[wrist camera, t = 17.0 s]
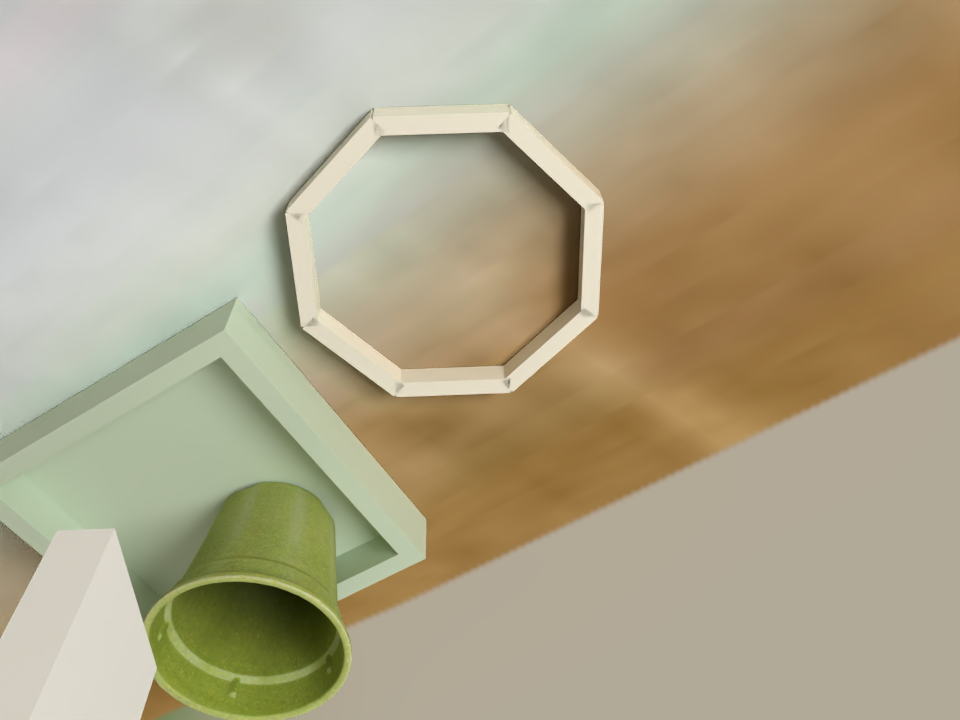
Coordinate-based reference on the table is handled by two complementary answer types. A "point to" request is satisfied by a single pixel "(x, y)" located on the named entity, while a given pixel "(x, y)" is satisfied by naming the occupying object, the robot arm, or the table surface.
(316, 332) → the collar ring
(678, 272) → the table surface
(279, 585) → the plant pot
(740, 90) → the table surface
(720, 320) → the table surface
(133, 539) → the tray
